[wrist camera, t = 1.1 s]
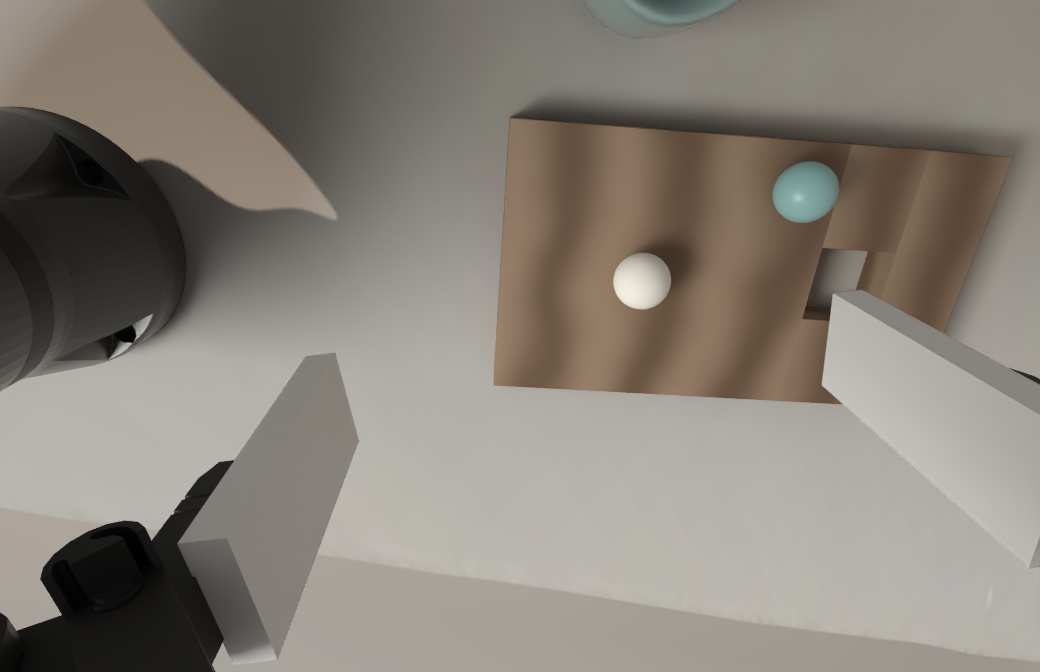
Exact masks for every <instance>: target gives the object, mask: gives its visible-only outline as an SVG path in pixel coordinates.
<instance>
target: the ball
mask: <svg viewBox="0 0 1040 672" xmlns="http://www.w3.org/2000/svg"><path fill="white" fill-rule="evenodd" d="M613 285H614V289H615V292H616V294H617V296H618V298H619V299H620V300H621V301H622V302H623V303H624V304H626V305H627V306H629V307H631V308H635V309H649V308H652V307H654V306H656V305H658V304H659V303H661V302H662V301H663V300H664V299H665V297H666V296H667V294H668V292H669V290H670V286H671V275H670V271H669V269H668V267H667V265H666V264H665V263H664V261H663V260H661V259H660V258H659V257H657V256H655V255H653V254H650V253H636V254H633V255H630V256H628V257H627V258H625V259H624V260H623V261H622V262H621V263H620V264H619V265H618V267H617V269H616V271H615V274H614V279H613Z"/></svg>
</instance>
